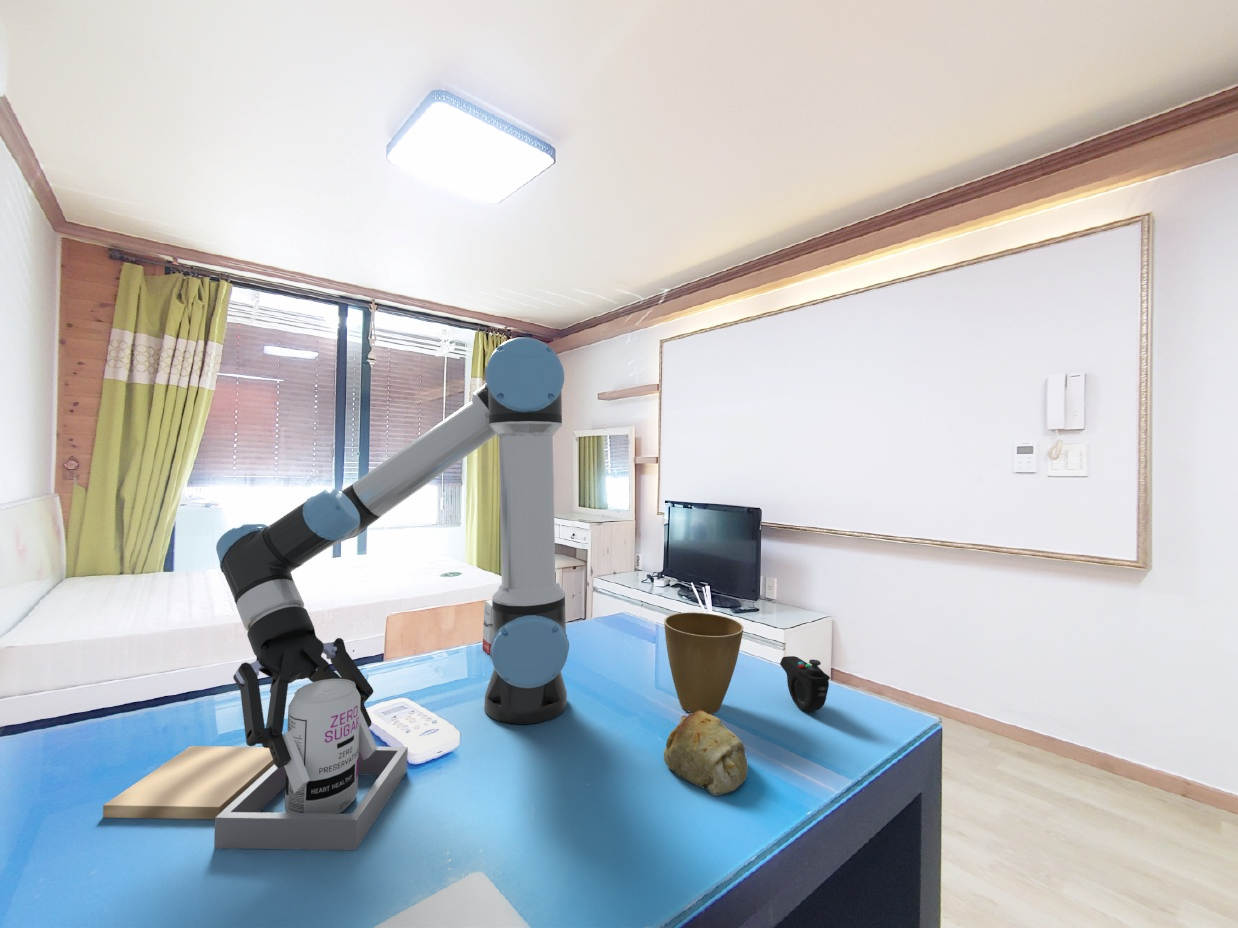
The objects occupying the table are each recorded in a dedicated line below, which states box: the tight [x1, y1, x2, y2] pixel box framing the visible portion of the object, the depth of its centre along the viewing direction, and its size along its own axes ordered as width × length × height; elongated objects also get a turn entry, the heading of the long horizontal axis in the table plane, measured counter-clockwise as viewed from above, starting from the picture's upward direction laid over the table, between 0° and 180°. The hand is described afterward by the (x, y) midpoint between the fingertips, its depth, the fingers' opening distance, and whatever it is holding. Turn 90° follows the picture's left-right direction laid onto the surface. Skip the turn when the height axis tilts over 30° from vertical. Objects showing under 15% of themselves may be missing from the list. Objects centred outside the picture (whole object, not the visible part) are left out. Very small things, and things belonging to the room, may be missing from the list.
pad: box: [102, 745, 275, 820], centre depth 73 cm, size 14×14×2 cm
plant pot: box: [663, 611, 744, 715], centre depth 102 cm, size 15×15×16 cm
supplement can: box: [284, 679, 361, 814], centre depth 70 cm, size 8×8×15 cm
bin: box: [213, 745, 409, 851], centre depth 70 cm, size 16×16×4 cm
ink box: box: [482, 599, 493, 656], centre depth 130 cm, size 8×5×12 cm, turn 123°
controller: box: [779, 655, 831, 712], centre depth 104 cm, size 4×12×10 cm, turn 13°
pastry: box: [663, 710, 749, 797], centre depth 81 cm, size 14×12×8 cm
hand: (338, 769), depth 68 cm, fingers closed on supplement can, 8 cm apart
